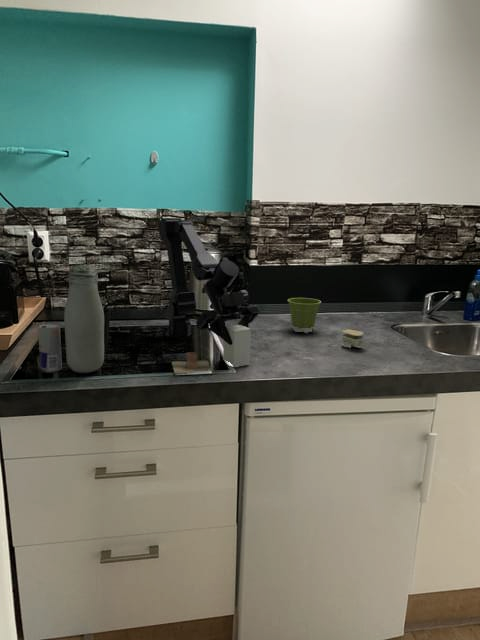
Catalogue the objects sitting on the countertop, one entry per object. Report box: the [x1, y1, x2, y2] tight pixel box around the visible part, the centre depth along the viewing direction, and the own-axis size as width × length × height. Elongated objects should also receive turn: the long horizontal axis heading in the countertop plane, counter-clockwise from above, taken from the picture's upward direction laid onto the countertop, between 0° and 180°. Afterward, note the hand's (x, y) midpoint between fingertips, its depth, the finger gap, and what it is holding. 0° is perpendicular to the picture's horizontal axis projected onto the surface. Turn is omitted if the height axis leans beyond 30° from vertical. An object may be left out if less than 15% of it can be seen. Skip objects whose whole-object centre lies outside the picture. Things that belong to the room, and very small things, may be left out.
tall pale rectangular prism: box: [222, 324, 252, 365], centre depth 146 cm, size 5×5×11 cm
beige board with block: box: [171, 351, 213, 376], centre depth 141 cm, size 10×10×4 cm
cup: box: [103, 308, 111, 353], centre depth 155 cm, size 8×8×12 cm
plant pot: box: [287, 297, 322, 328], centre depth 184 cm, size 12×12×11 cm
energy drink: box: [37, 323, 63, 374], centre depth 137 cm, size 5×5×12 cm
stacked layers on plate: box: [340, 329, 364, 346], centre depth 166 cm, size 10×9×6 cm
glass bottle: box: [63, 265, 105, 374], centre depth 134 cm, size 10×10×28 cm
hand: (239, 342), depth 145 cm, fingers closed on tall pale rectangular prism, 5 cm apart
